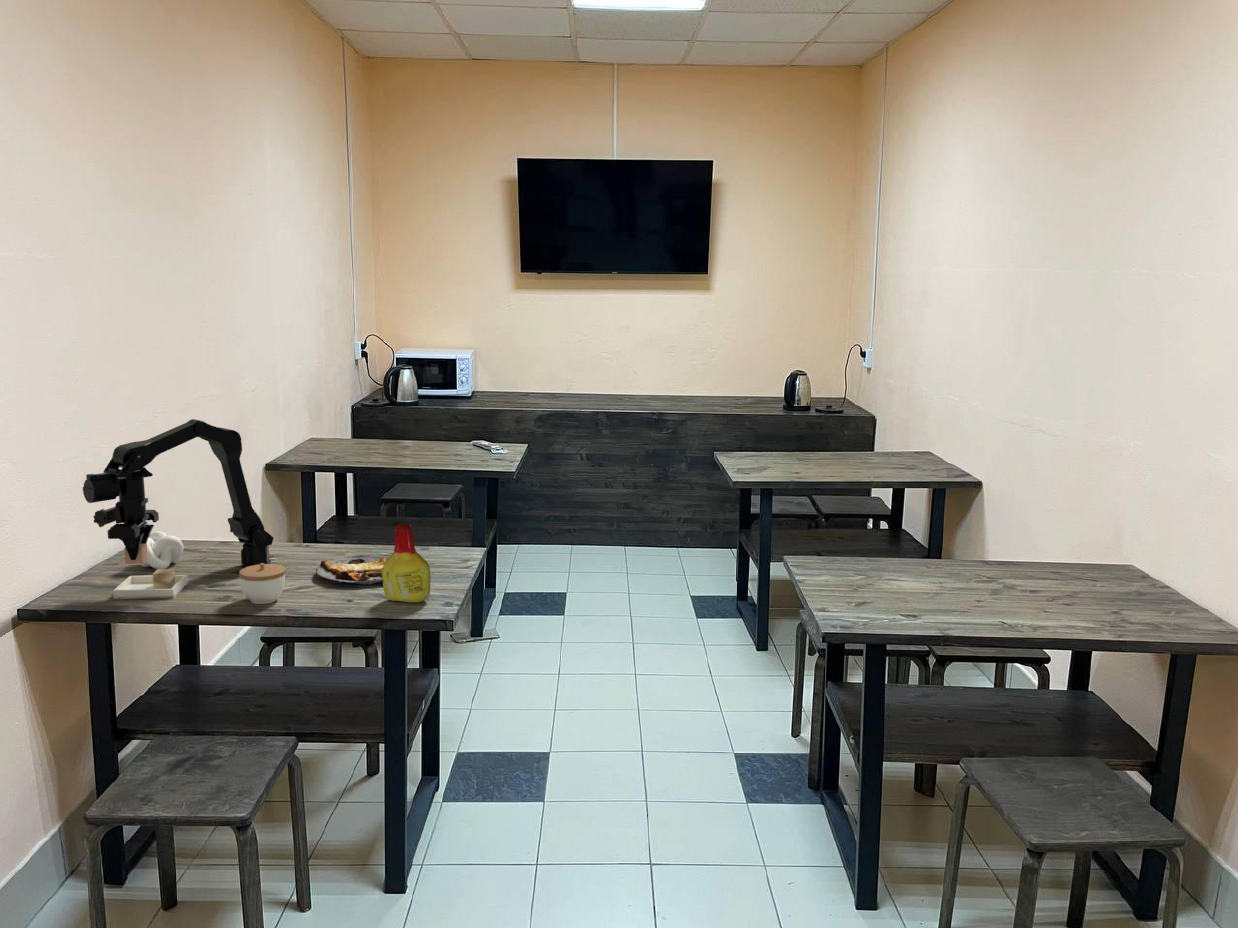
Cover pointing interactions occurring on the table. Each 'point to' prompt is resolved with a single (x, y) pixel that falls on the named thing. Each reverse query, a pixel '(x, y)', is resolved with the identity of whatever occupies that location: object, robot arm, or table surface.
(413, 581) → the bottle
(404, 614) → the table surface
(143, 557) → the terracotta block
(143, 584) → the tray
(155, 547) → the white knot sculpture
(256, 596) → the lidded jar
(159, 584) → the beech block
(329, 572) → the food plate
